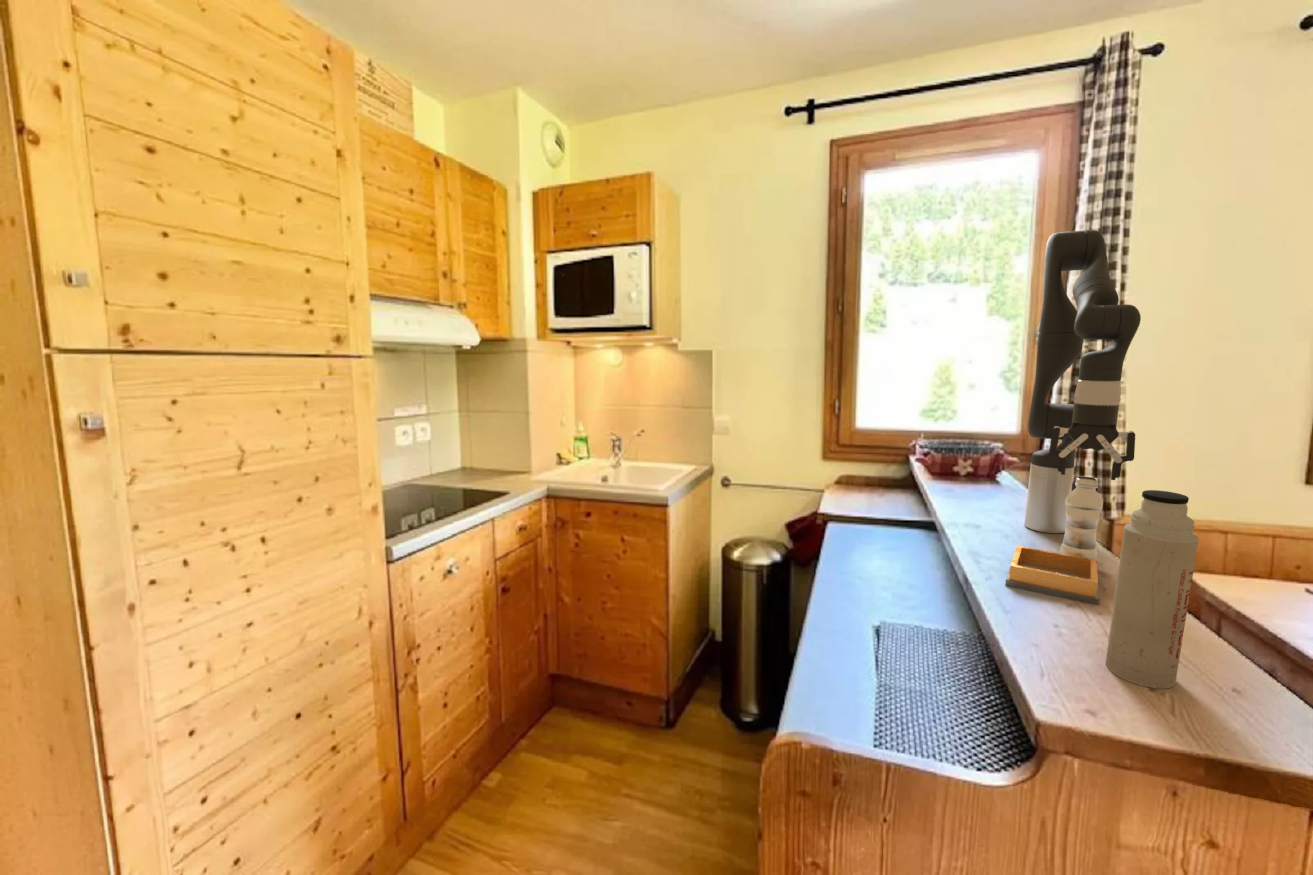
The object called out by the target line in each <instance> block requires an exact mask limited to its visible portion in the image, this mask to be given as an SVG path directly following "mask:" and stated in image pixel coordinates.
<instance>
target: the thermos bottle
mask: <svg viewBox="0 0 1313 875" xmlns="http://www.w3.org/2000/svg"><path fill="white" fill-rule="evenodd" d="M1141 497H1142V498H1143V499H1142V501H1141V507H1140V508H1139V509H1136V510H1134V511H1132V515H1131V516H1130V517H1129V518H1130V522H1129V523H1127V524H1125V525H1124V526H1123V533H1122V540H1121V548H1120V554H1119V555H1120V556H1119V561H1118V562H1119V563H1118V569H1117V575H1116V576H1117V579H1116V585H1115V589H1114V590H1115V592H1114V597H1113V598H1114V600H1113V610H1112V611H1113V612H1112V619H1111V623H1110V629H1109V633H1108V642H1107V649H1106V650H1107V651H1106V657H1105V666H1106V668H1108V670H1109V671H1110V672H1111V673H1113V674H1114V675H1115V676H1117V677H1119V678H1121V679H1123V680H1125V681H1128V682H1130V683H1133V684H1136V685H1139V686H1142V687H1144V688H1145V687H1146V688H1151V689H1159V690H1160V689H1161V690H1162V689H1163V690H1164V689H1170V688H1173V687H1174V686H1175V685H1176V682H1177V676H1178V669H1179V664H1180V657H1181V650H1182V644H1183V638H1184V634H1185V633H1184V632H1185V626H1186V621H1187V620H1186V619H1187V614H1188V606H1189V601H1190V595H1191V588H1192V582H1193V576H1194V571H1195V564H1196V557H1197V552H1198V548H1199V547H1198V545H1199V540H1200V538H1199V537H1198V535H1196V534H1195V533H1193V532H1194V530H1195V528H1196V527H1195V520H1193V518H1191V517H1190V516H1188V503H1189V497H1188V496H1187V495H1185V494H1181V493H1178V492H1174V491H1167V490H1158V489H1157V490H1156V489H1153V490H1152V489H1151V490H1150V489H1149V490H1148V489H1147V490H1143V491H1142V494H1141Z"/></svg>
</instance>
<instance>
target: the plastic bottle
mask: <svg viewBox="0 0 1313 875" xmlns="http://www.w3.org/2000/svg"><path fill="white" fill-rule="evenodd" d="M1098 482H1099V479H1098V478H1096V477H1092V476H1083V475H1082V476H1079V475H1078V476H1076V478H1075V483H1074V486H1075V488H1074V489H1073V490H1071V492H1070V493H1069V494H1068V495H1067V497H1066V499H1065V504H1066V505H1065V506H1066V530H1065V532H1064V535H1063V540H1062V542H1061V544H1060V548H1059V553H1063V554H1068V555H1074V556H1080V557H1085V558H1091V559H1096V560H1098V549H1097V532H1098V524H1099V519H1100V516H1101V514H1102V511H1103V510H1102V509H1103V508H1104V507H1103V505H1104V502H1103V499H1102V497H1101V495H1100V494H1099V492H1098V491H1097V490H1096V489H1098V487H1099V484H1098Z"/></svg>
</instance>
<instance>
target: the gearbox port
mask: <svg viewBox="0 0 1313 875" xmlns="http://www.w3.org/2000/svg"><path fill="white" fill-rule="evenodd" d="M1097 560H1098V559H1097ZM1097 560H1096V559H1091V558H1085V557H1080V556H1074V555H1068V554H1063V553H1060V552H1058V551H1057V552H1056V551H1050V550H1045V549H1040V548H1033V547H1029V546H1022V545H1016V547H1015V550H1014V554H1013V556H1012V561H1011V563H1010V565H1009V569H1008V573H1007V575H1006V579H1005V586H1007V587H1011V588H1017V589H1020V590H1021V589H1022V590H1026V591H1030V592H1035V593H1041V594H1044V595H1049V596H1054V597H1058V598H1062V599H1067V600H1073V601H1076V602H1077V601H1078V602H1080V603H1085V604H1090V605H1095V606H1099V604H1100V602H1099V601H1100V593H1099V592H1100V591H1099V573H1098V563H1097Z"/></svg>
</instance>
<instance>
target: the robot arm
mask: <svg viewBox="0 0 1313 875" xmlns="http://www.w3.org/2000/svg"><path fill="white" fill-rule="evenodd" d="M1107 254H1108V253H1107V247H1106V242H1105V238H1104V236H1103V234H1102V233H1101V232H1100V231H1099V230H1095V229H1085V230H1084V229H1083V230H1074V231H1060V232H1055V233H1054V232H1053V233H1052V234H1051V235H1050V236H1049V237H1048V240H1047V241H1046V246H1045V253H1044V264H1043V265H1044V267H1043V268H1044V269H1043V271H1044V272H1043V297H1042V305H1041V306H1042V308H1041V315H1040V321H1039V329H1038V339H1037V351H1036V362H1035V363H1036V365H1035V376H1034V377H1035V378H1034V383H1033V384H1034V385H1033V388H1032V389H1033V391H1032V396H1031V403H1030V407H1029V414H1028V421H1027V422H1028V423H1027V430H1028V434H1029V436H1030V437H1032V438H1035V439H1044V440H1045V439H1046V440H1047V439H1049V440H1050V445H1049V448H1047V449H1041V450H1037V451H1034V452H1033V453H1032V454H1031V458H1030V466H1029V467H1030V469H1029V475H1028V476H1029V477H1028V486H1027V487H1028V489H1027V496H1026V497H1027V498H1026V508H1025V513H1024V514H1025V515H1024V523H1023V524H1024V526H1025V527H1026V528H1028V529H1030V530H1033V531H1037V532H1041V533H1047V534H1063V533H1064V534H1065V530H1066V506H1065V505H1066V504H1065V499H1066V497H1067V495H1068V494H1069V493H1070V492H1072V487H1073V479H1074V469H1075V462H1076V461H1075V459H1076V458H1075V457H1076V449H1077V448H1079V449H1082V450H1095V451H1101V450H1102V451H1103V450H1105V451H1106V452H1107V454H1109V456H1110V457H1111V458H1112V459H1113V461H1112V464H1111V465H1112V466H1111V473H1110V480H1111V481H1116V478H1117V479H1119V478H1120V477H1121V472H1122V467H1123V466H1122V465H1123V463H1125V462H1132V461H1134V460H1135V451H1136V450H1135V449H1136V433H1135V432H1134V431H1133V430H1129V431H1119V430H1118V429H1117V426H1118V425H1117V424H1118V417H1119V410H1120V403H1121V401H1122V400H1121V399H1122V398H1121V394H1122V384H1121V383H1122V381H1121V380H1122V375H1123V369H1124V361H1125V358H1126V356H1127V353H1128V350H1129V348H1130V346H1131V344H1132V341H1133V340H1134V337H1135V335H1136V333H1137V332H1138V330H1139V328H1140V324H1141V320H1142V319H1141V318H1142V316H1141V312H1140V310H1139V309H1138V308H1137V307H1136V306H1134V305H1133V304H1119V302H1120V299H1119V294H1118V292H1117V290H1116V287H1115V285H1114V284H1113V281H1112V280H1111V279H1112V278H1111V276H1110V269H1109V262H1108V255H1107ZM1071 271H1082V272H1081V274H1080V275H1078V277H1077V278H1076V279H1075V281H1074V283H1073V285H1072V286H1073V287H1072V297H1073V299H1074V302H1075V304H1076V307H1075V305H1074V304H1073V303H1072V301H1071V300H1070V298H1069V296H1068V294H1067V293H1066V290H1065V288H1064V284H1063V276H1062V275H1063V274H1062V272H1071ZM1084 340H1087V341H1090V340H1092V341H1093V340H1094V341H1096V340H1099V341H1102V340H1107V341H1108V340H1111V341H1110V344H1109V345H1107V346H1106V348H1104V349H1100V350H1094V351H1089V352H1086V353H1084V354H1082V356H1081V357H1080V354H1081V353H1082V351H1083V346H1084V345H1083V343H1084ZM1079 357H1080V363H1079V369H1078V370H1079V371H1078V380H1077V385H1076V388H1075V391H1074V392H1075V394H1074V397H1073V403H1052V402H1050V403H1049V402H1046V399H1048V395H1049V393H1050V392H1051V390H1052V389H1053V387H1054V386H1055V384H1057V382H1058V380H1060V378H1061V377H1062V376H1063V374H1064V373H1065V372H1066V371H1068V369H1069V368H1071V366H1072V365H1073V364H1074V363H1075V362H1076V360H1077V359H1078V358H1079ZM1118 438H1121V440H1122V442H1123V443H1125V445H1126V446H1125V447H1126V448H1125V454H1121V455H1120V454H1119V452H1118V451H1117V450H1116V448H1115V447H1114V446H1113V445H1112V443H1113V442H1114V441H1116V439H1118ZM1059 440H1061V442H1060V443H1059Z"/></svg>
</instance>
